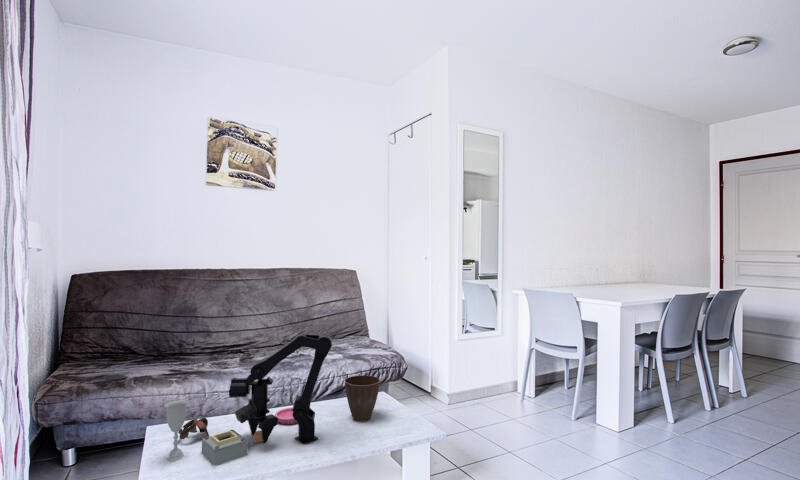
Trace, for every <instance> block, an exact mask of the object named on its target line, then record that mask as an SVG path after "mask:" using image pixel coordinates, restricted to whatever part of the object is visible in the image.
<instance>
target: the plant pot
mask: <svg viewBox="0 0 800 480" xmlns="http://www.w3.org/2000/svg"><path fill="white" fill-rule="evenodd" d="M380 383H381V379H380V378H379V377H377V376H373V375H365V374H364V375H363V374H362V375H360V374H359V375H352V376H349V377H347V378H345V379H344V387H345V393H346V400H347V403H348V407H349V410H350V414H351V417H352V420H354V421H356V422H368V421H370V420H371V418H372V416H373V413H374V410H375V407H376V404H377V403H376V402H377V399H378V394H379V390H380V389H379V388H380V385H381V384H380Z"/></svg>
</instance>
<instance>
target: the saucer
mask: <svg viewBox="0 0 800 480" xmlns="http://www.w3.org/2000/svg"><path fill="white" fill-rule="evenodd" d="M292 408H293V407H286V408H282V409H280V410H278V411H276V412H275V414H274V416H276V417H277V418H278V423H280V424H283V425H295V424H298V422H297V421H296V420H295V419H294V418H293V411H292Z"/></svg>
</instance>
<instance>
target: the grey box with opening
mask: <svg viewBox="0 0 800 480" xmlns="http://www.w3.org/2000/svg"><path fill="white" fill-rule="evenodd" d="M201 454H202V455H203V457H205V458H206V459H207V460H208V461H209V462H210V463H211V464H212V465H213V466H214V467H216V466H218V465H222V464H224V463H228V462H230V461H233V460H236V459H240V458H242V457H246V456H248V440H247V438H245V437H244V436H242V435H241V434H240V433H239V432H237V431H236V430H234V429H230V430H228V431H227V430H226V431H223V432H219V433H216V434H213V435H209V437H205V438H203V437H202V438H201Z"/></svg>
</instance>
